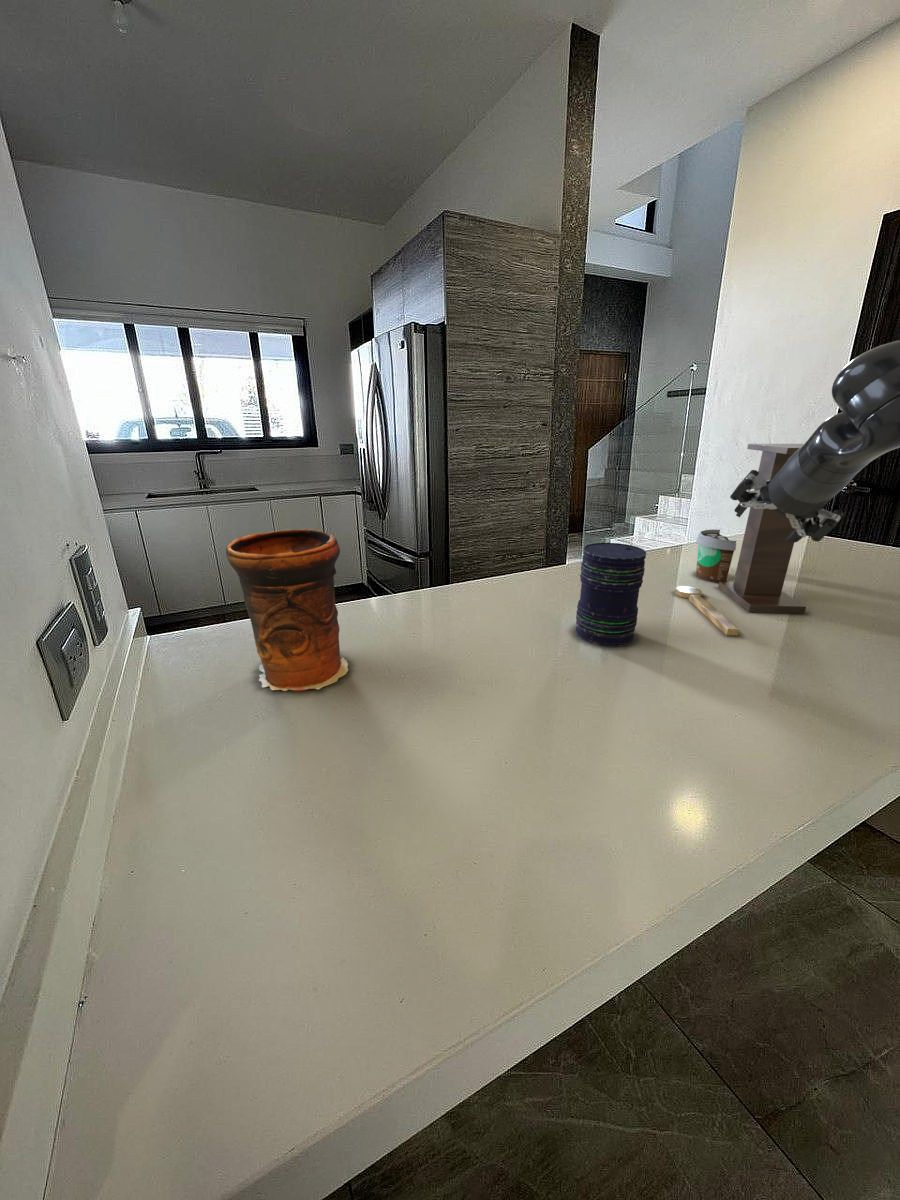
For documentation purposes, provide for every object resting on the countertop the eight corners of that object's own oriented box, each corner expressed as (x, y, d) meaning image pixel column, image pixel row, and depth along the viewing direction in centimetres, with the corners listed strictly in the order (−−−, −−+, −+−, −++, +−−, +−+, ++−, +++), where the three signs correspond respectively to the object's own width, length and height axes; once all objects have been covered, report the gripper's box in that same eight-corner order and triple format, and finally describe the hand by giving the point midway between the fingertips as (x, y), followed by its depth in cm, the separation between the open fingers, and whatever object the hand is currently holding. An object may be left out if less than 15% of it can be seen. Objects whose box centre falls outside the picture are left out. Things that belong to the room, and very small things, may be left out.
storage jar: (600, 651, 76) (611, 561, 71) (562, 628, 85) (570, 546, 79) (647, 640, 80) (661, 554, 75) (607, 619, 88) (616, 540, 83)
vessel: (237, 702, 63) (209, 556, 56) (260, 653, 76) (239, 529, 69) (348, 693, 65) (335, 550, 58) (352, 646, 78) (341, 525, 71)
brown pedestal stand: (804, 614, 90) (851, 448, 80) (748, 612, 91) (787, 447, 81) (766, 589, 103) (802, 443, 93) (717, 587, 104) (748, 443, 94)
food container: (684, 568, 118) (691, 528, 115) (711, 569, 117) (719, 529, 113) (697, 583, 107) (706, 540, 103) (727, 585, 106) (737, 541, 102)
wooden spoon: (746, 636, 82) (748, 629, 81) (717, 635, 82) (718, 628, 81) (695, 591, 102) (696, 586, 102) (672, 590, 103) (673, 585, 102)
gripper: (745, 473, 67) (712, 521, 82) (851, 524, 62) (795, 565, 78) (775, 432, 68) (736, 487, 83) (882, 480, 63) (820, 528, 78)
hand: (765, 524), depth 80 cm, fingers open, 8 cm apart
